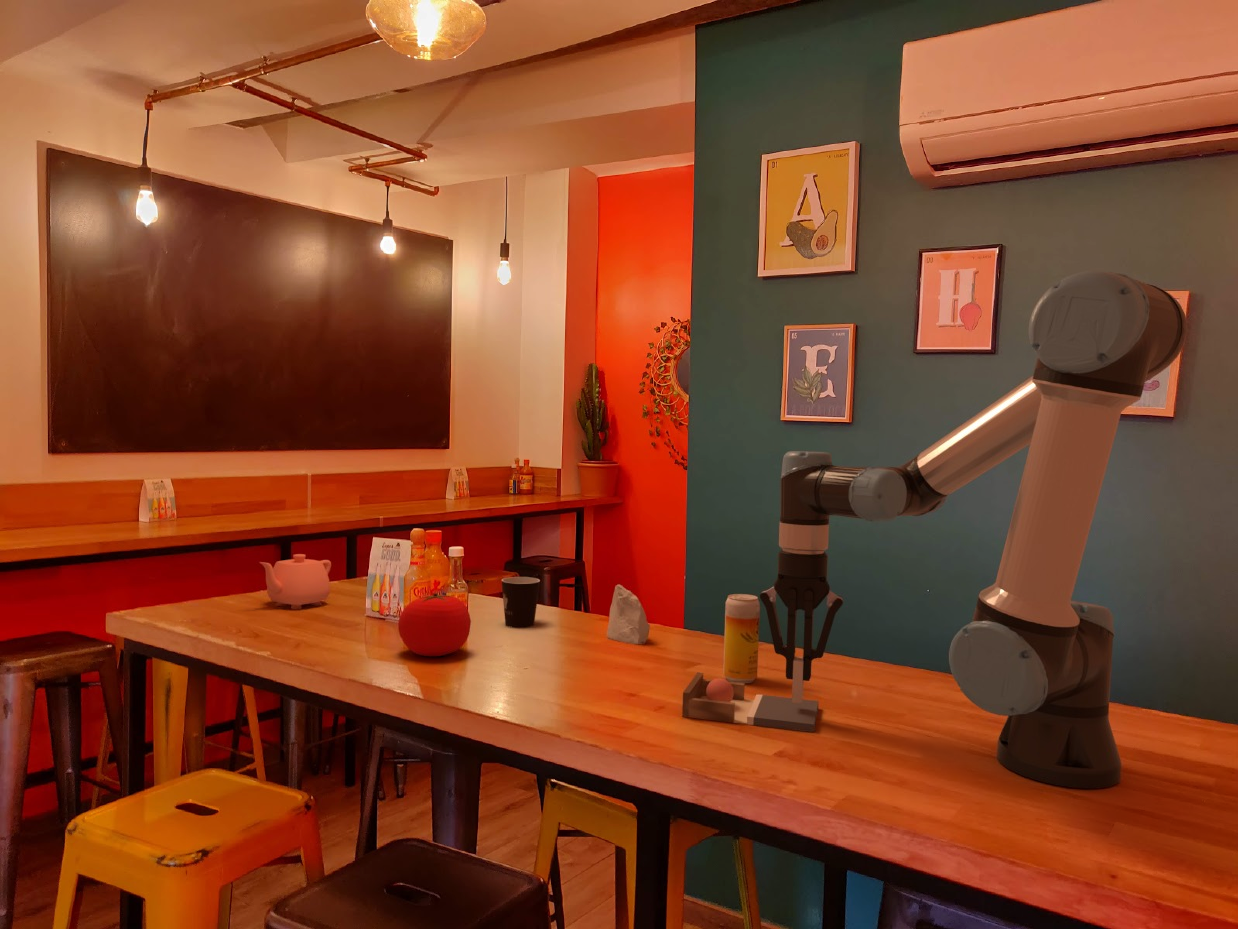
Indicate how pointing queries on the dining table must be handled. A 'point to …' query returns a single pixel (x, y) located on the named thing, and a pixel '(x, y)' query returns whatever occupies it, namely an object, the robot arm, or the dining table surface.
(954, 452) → the robot arm
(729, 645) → the beer can
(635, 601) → the stone
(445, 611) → the tomato
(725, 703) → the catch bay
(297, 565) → the teapot
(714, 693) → the ball
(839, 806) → the dining table surface
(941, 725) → the dining table surface
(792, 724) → the lane mat
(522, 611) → the coffee mug
